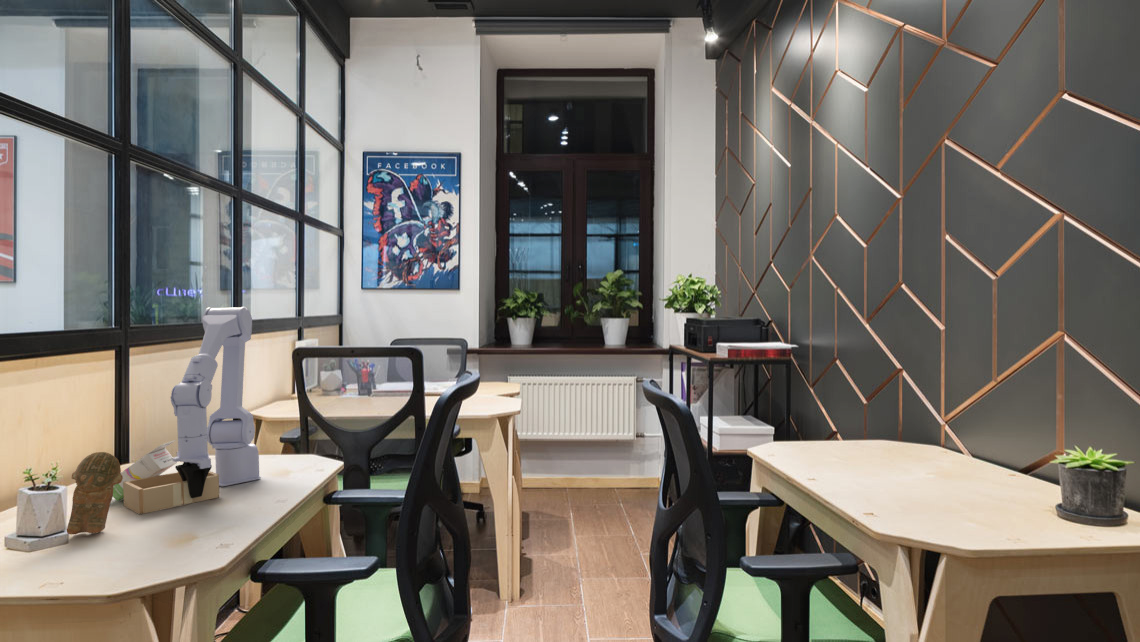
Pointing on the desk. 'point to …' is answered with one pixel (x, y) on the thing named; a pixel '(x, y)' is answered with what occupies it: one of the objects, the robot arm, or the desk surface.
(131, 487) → the carton
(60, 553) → the desk surface
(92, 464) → the figurine
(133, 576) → the desk surface
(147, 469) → the ink box
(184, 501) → the flap
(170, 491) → the flap
